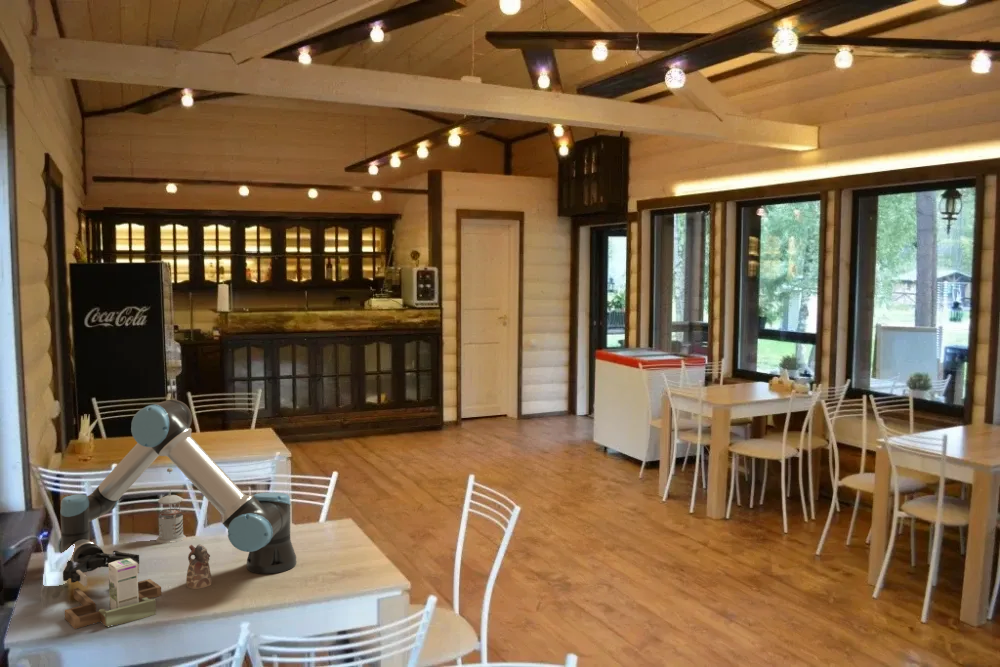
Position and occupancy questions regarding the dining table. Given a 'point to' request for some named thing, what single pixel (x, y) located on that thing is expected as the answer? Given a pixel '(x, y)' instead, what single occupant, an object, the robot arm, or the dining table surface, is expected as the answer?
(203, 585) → the figurine
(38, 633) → the dining table surface
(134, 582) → the syrup box
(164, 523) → the french press
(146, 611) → the channel
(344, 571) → the dining table surface
